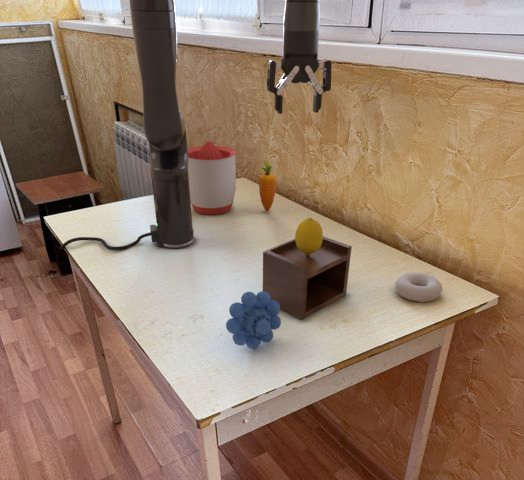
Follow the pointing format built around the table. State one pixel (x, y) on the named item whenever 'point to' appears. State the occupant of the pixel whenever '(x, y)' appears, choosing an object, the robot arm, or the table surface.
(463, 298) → the table surface
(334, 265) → the tray
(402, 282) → the donut
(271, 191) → the carrot
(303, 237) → the lemon
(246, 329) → the grapes
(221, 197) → the citrus juicer
